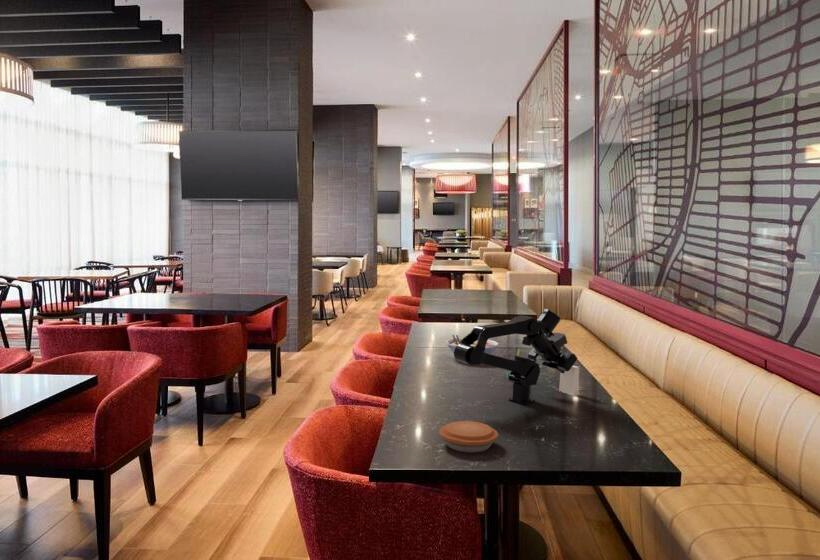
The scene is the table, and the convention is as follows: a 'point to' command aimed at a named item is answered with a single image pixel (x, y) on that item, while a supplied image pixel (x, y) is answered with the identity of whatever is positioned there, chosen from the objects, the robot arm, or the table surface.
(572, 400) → the table surface
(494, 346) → the ramen bowl
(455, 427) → the pie
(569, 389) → the tile
